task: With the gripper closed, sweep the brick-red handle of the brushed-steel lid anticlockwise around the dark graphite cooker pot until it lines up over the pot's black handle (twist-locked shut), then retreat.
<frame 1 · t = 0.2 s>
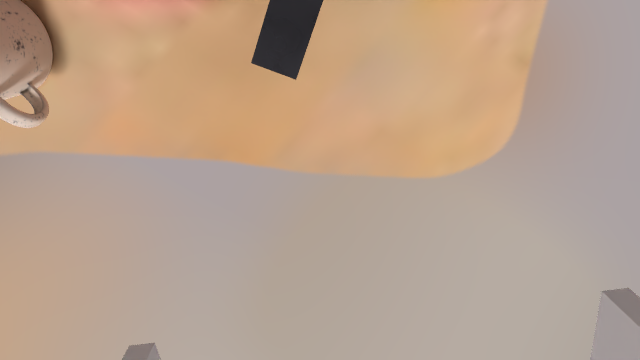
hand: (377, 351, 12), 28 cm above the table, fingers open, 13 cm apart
teacup with lid: (19, 57, 35), on the table
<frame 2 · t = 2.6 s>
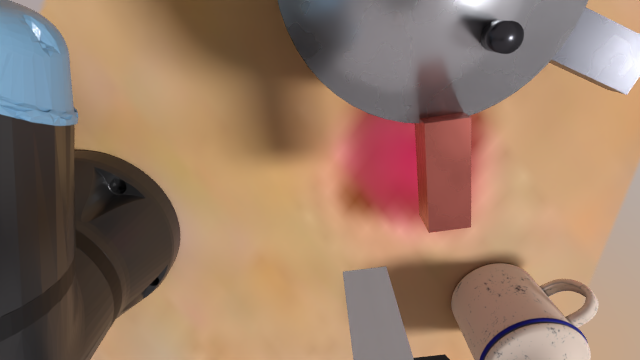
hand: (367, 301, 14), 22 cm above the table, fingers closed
lid: (442, 30, 21), point 11 cm above the table, hinge at -60.0°
teacup with lid: (503, 288, 42), on the table
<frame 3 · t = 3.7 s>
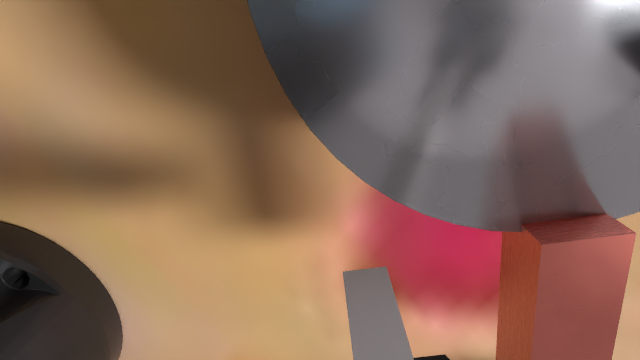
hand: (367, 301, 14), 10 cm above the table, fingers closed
lid: (597, 62, 10), point 11 cm above the table, hinge at -60.0°
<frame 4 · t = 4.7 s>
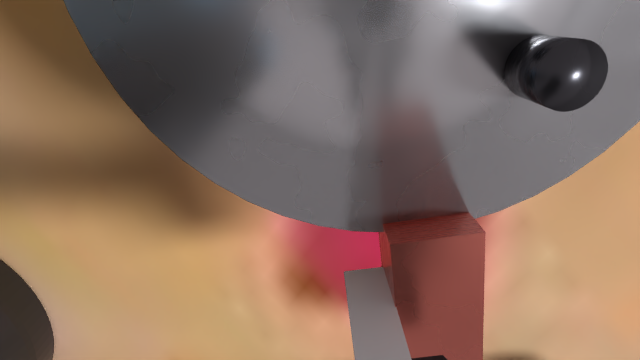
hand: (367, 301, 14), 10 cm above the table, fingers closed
lid: (425, 59, 10), point 11 cm above the table, hinge at -59.6°, touching gripper
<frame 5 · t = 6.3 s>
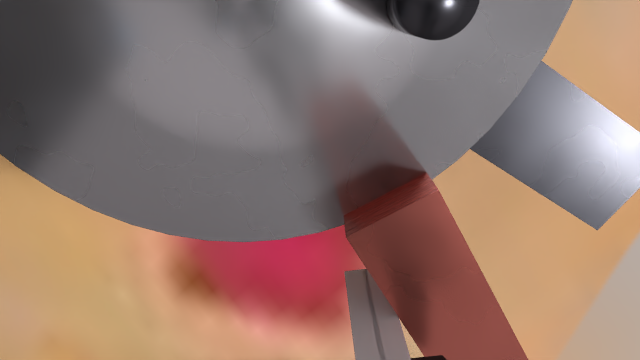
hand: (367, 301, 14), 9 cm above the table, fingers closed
lid: (292, 43, 9), point 11 cm above the table, hinge at -27.7°, touching gripper
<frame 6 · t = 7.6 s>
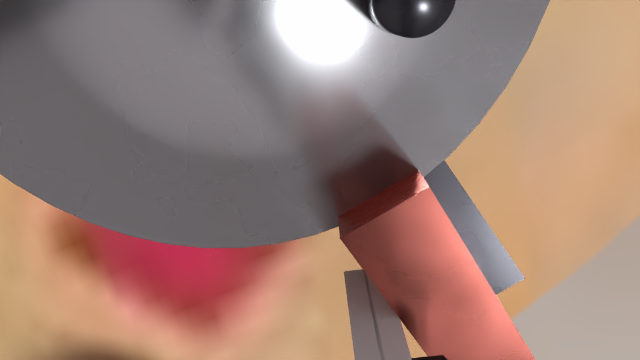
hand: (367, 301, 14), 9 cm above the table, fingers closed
lid: (276, 48, 9), point 11 cm above the table, hinge at -3.6°, touching gripper
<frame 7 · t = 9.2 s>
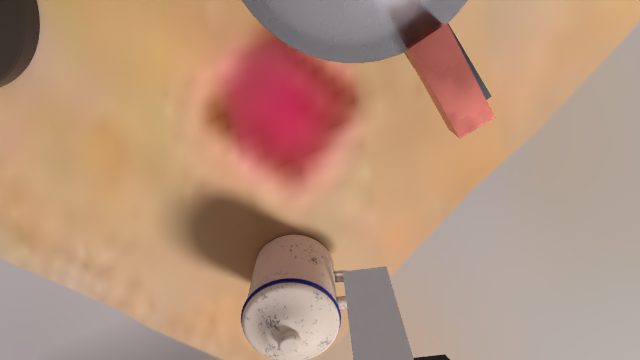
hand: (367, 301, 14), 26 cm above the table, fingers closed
teacup with lid: (307, 264, 45), on the table
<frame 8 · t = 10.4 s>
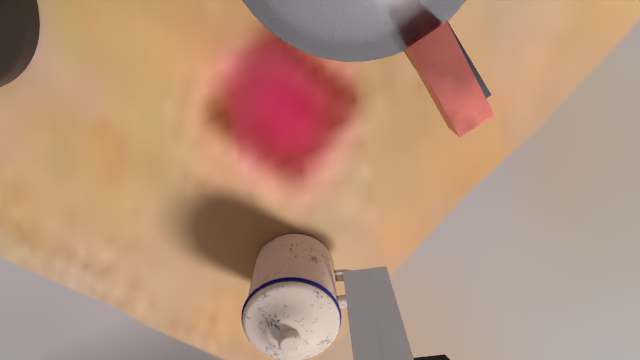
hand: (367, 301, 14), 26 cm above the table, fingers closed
teacup with lid: (307, 263, 45), on the table
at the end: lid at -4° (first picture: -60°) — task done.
